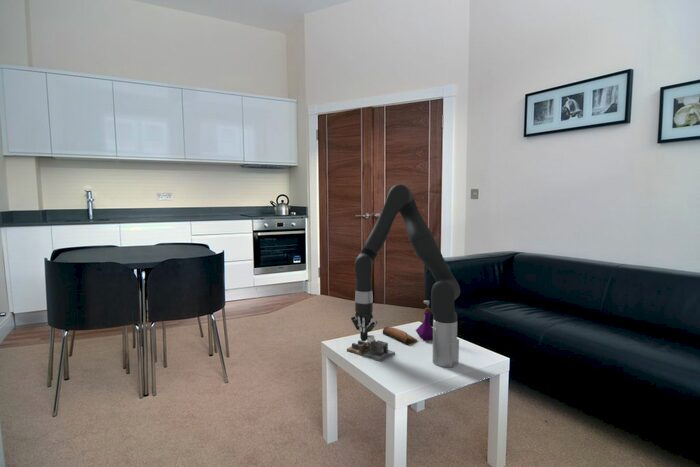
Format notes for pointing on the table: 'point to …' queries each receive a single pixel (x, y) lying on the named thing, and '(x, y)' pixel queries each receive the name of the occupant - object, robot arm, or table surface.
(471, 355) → the table surface
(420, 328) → the perfume bottle
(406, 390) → the table surface
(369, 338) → the steel bolt
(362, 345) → the plate
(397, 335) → the sunglasses case
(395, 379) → the table surface
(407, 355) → the table surface
